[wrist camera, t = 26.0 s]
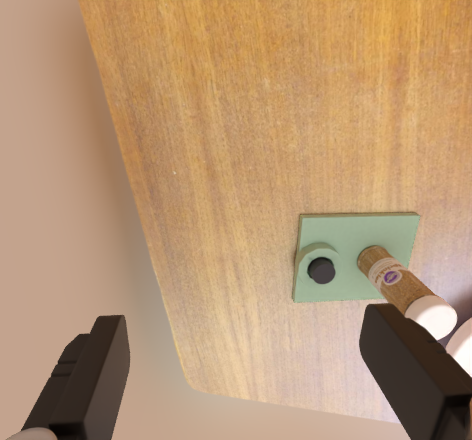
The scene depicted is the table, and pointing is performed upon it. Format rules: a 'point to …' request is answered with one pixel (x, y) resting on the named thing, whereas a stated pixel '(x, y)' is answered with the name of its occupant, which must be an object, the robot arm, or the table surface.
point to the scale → (348, 251)
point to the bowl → (462, 346)
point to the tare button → (322, 270)
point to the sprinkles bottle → (407, 292)
